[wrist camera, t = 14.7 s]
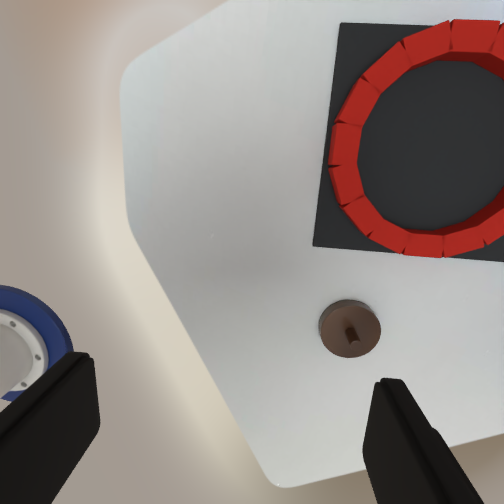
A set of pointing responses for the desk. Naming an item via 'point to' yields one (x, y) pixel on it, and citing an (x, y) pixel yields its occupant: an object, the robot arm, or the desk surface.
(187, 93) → the desk surface
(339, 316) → the ring holder
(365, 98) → the ring
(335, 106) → the mat
